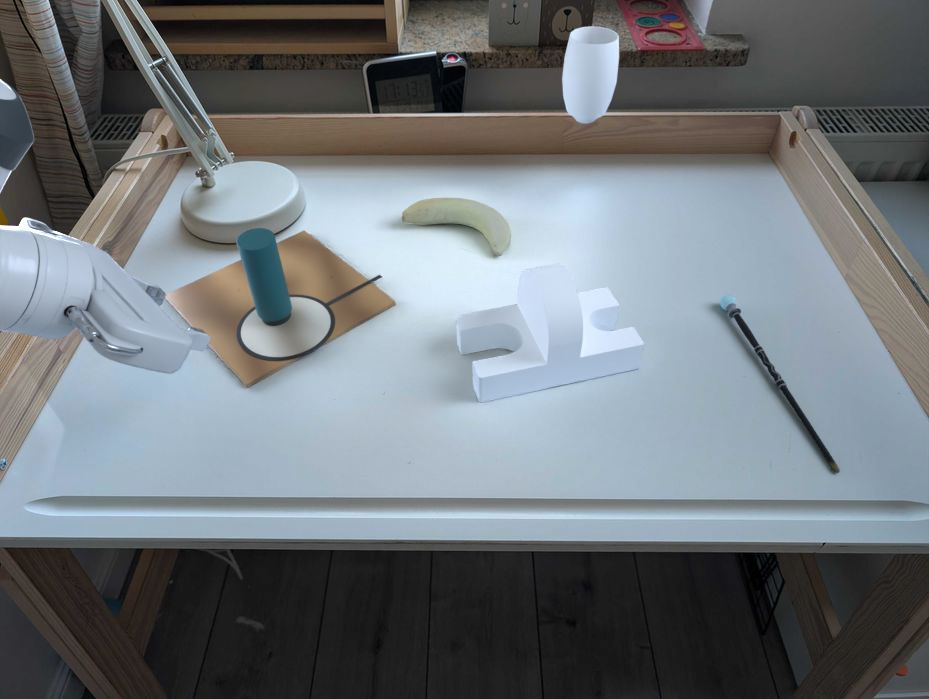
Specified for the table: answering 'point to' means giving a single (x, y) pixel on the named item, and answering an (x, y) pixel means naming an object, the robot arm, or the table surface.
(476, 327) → the block with arch cutout
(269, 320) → the teal cylinder
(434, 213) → the fruit
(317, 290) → the brown flat square board
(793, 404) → the magic staff
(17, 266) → the robot arm
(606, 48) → the cup
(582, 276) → the table surface
